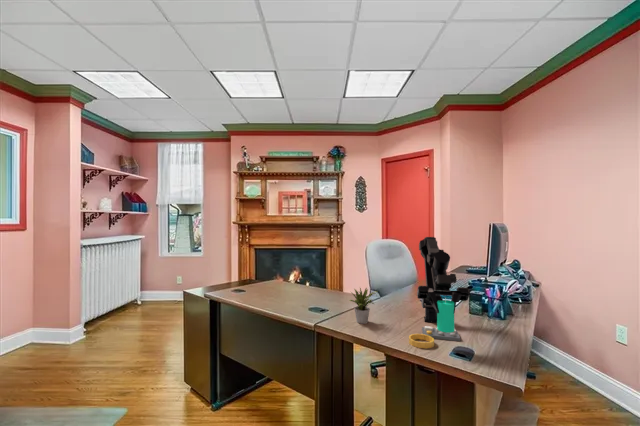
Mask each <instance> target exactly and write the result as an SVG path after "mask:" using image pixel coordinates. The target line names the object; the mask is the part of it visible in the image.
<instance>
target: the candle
mask: <svg viewBox="0 0 640 426" xmlns="http://www.w3.org/2000/svg"><path fill="white" fill-rule="evenodd" d="M437 304H438V309H439V313H437V323H436V327H437V329H438V330H439V331H441V332H446V333H451V332H454V329H455V313H454V302H453V301H451V299H450V300H449V299H447V298H446V297H445V299H443V300H442V301H440V300H438V301H437Z"/></svg>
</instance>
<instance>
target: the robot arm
mask: <svg viewBox="0 0 640 426" xmlns="http://www.w3.org/2000/svg"><path fill="white" fill-rule="evenodd" d="M418 250H419V252H420V256H421V257H422V258H423V261H424V274H425V285H418V286H417V291H416V296H417V299H418V300H420V299H421V307H422V309H424V315H425V316H424V317H423V320H424V322H426V323H433V324H434V323H435V324H437V313H439V309H438V304H437V301H438V300H440V301H442V300H444V299H443V297H442V296H445V297H446V296H447V297H451V299H450V301H453V302H454V314H455V312H456V306H457V303H460V301H461V302H466V301H469V297H470V294H471V292H470V289H469V287H467V286H466V287H464V286H463V287H462V286H458V287H457V288H456V290H451V289H452V284H456V283H457V276H456V273H450V274H448V273H447V270H448V269H449V265H450V262H451V261H450V260H451V255H450V254H449V253H448V252H446V251H445V250H444V249H440V248H439V246H438V240H437V238H436V237H435V236H426V237H424V238H423V239H421V240H420V241H419V244H418Z"/></svg>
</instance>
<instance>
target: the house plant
mask: <svg viewBox="0 0 640 426" xmlns="http://www.w3.org/2000/svg"><path fill="white" fill-rule="evenodd" d="M353 289H354V292H355V293H353V292H351V291H350V293H351V294H352V296H353V297H354V298H355V299H354V300H353V299H350V300H349V302H353V303H355V304H356V305H357V306H356V307H354V313H355V320H356V323H357V324H363V325H364V324H368V322H369V316H370V307H368V305H369V304H372V305H375V303H374V302H373V298H371V299H370V297H372V296H374V295H376V292H378V290H377V291H376V290H375V291H372V292H370V293H369V294H368V291H369V289H368V288H367V287H365V289H364V291H362V289H361V287H359V291H358V290H357V289H356V288H353Z"/></svg>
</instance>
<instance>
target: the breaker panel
mask: <svg viewBox="0 0 640 426" xmlns="http://www.w3.org/2000/svg"><path fill="white" fill-rule="evenodd" d="M421 332H422V333H421V334H425V335H428V336H431V337H432V338H434V340H435V339H436V340H445V341H454V342H455V341H456V342H461V336H460V335H459V332H458V330H456V328H454V332H451V333H446V332H441V331H439V330H438V329H437V326H435V327H433V326H429V325H425V326H422V327H421Z"/></svg>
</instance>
